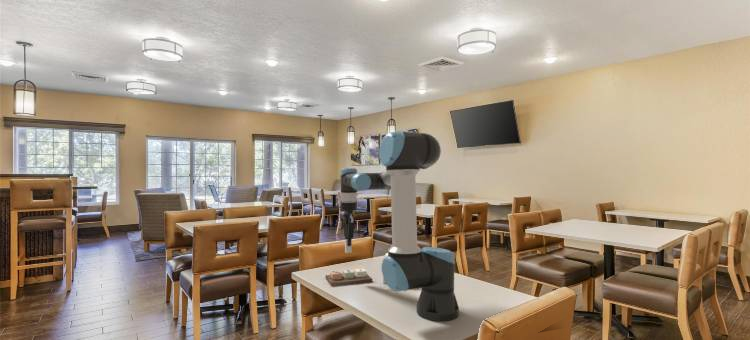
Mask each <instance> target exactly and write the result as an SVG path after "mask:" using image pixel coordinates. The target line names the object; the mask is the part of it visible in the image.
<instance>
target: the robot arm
mask: <svg viewBox="0 0 750 340" xmlns="http://www.w3.org/2000/svg"><path fill="white" fill-rule="evenodd" d="M441 152H442V151H441V145H440V142H439V140H437V138H436V137H434V136H433V135H432V134H429V133H424V132H422V133H421V132H410V131H391V132H388V133H387V134H386V135H385V136H384V137H383V138H382V140H381V142H380V145H379V149H378V158H379V162H380V163H381V165H382V166H384V167H385V170H384V171H382V172H358V169H357V168H355V167H354V168H353V167H347V168H346V167H343V168H341V170H340V175H339V176H340V199H339V200H340V201H341V202H340V210H341V211H343V212H344V214H343V215H342V221H343V223H342V224H343V236H344V242H345V243H344V247H345V248H344V253H345V254H351V253H352V251H353V250H352V249H353V246H352V245H353V243H352V242H353V239H354V231H355V222H356V219H355V218H356V217H355V215H354V211H357V210H358V202H357V200H358V199H357V198H358V196H359V195H358V192H360V191H362V192H363V191H375V190H377V191H378V190H381V191H382V190H390V202H391V203H390V204H391V205H390V206H391V209H390V210H391V241H392V243H391V246H390V247H389V248H388V250H387V253H388V257H386V258H385V257H384V258H383V259H382V261H381V272H382V278H383V277H384V280H385V282H386V285H387V287H388V288H389V289H390V290H392V291H394V292H407V291H411V290H415V289H416V290H417V289H421V291H420V293H419V297H418V300H417V302H416V314H417V315H418V316H420V317H422V318H423V319H426V320H430V321H437V322H444V321H451V320H455V319H457V318H458V317H459V314H460V308H459V304H458V300H457V298H456V294H455V265H456V263H455V254H454V252H452V251H451V250H449V249H447V248H446V249H445V248H440V247H435V246H423V247H422V248H421V247H420V246H419V245H418V230H417V229H418V227H417V225H418V223H417V222H418V221H417V191H416V190H417V188H416V186H417V184H416V183H417V182H416V175H417V174H418V173H420V170H426V169H428V168H430V167H432V166H434V165H435V164H436V163H437V162H438V161H439V159H440V156H441Z"/></svg>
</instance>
